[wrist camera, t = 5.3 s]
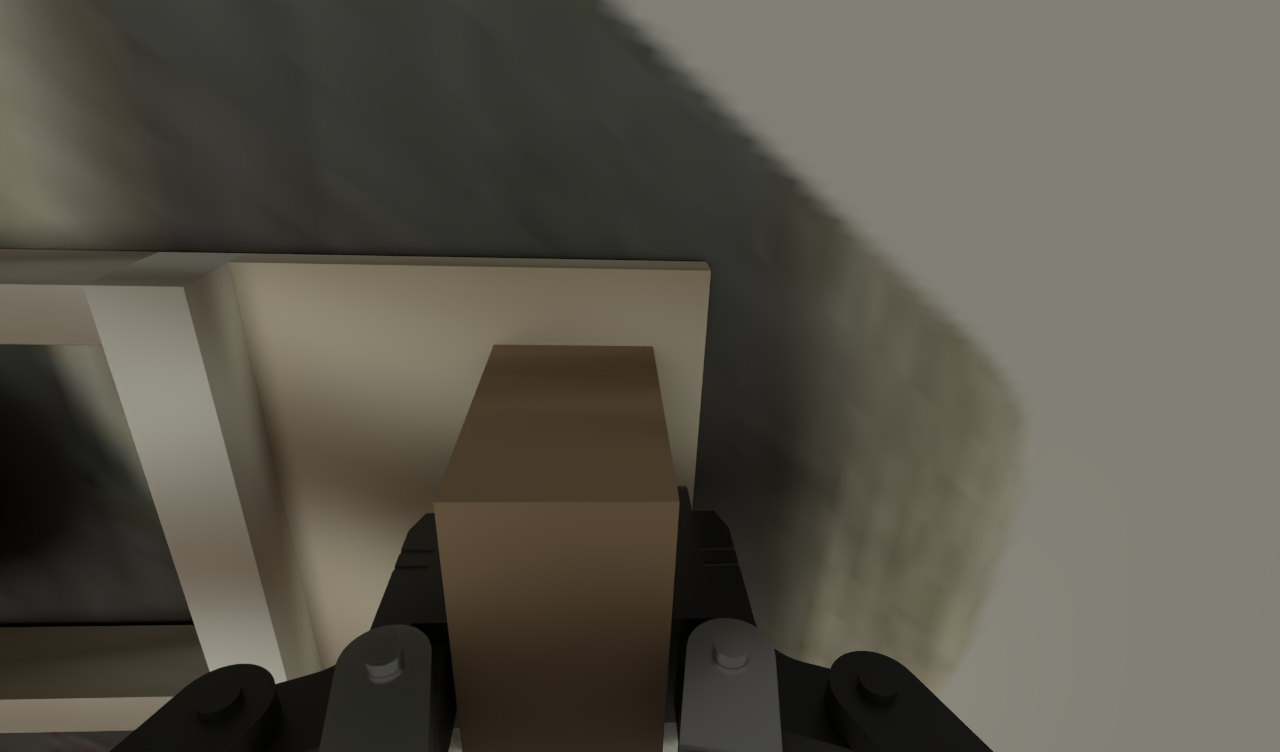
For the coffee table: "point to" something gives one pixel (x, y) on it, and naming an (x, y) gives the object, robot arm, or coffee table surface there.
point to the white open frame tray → (387, 473)
